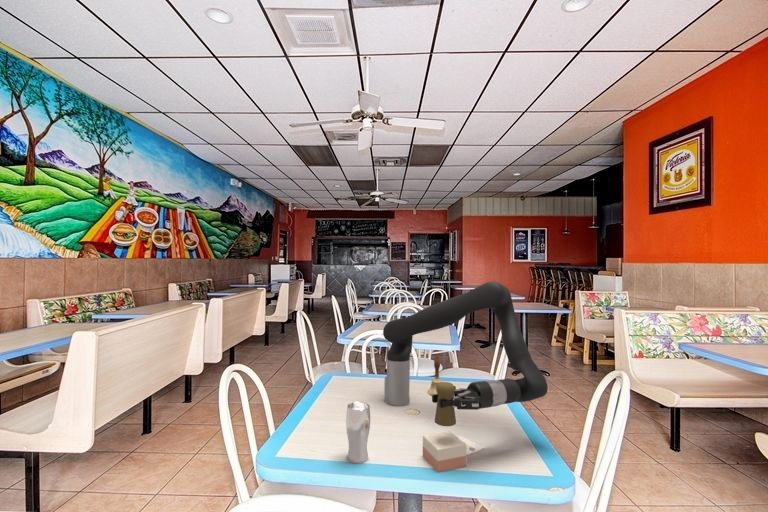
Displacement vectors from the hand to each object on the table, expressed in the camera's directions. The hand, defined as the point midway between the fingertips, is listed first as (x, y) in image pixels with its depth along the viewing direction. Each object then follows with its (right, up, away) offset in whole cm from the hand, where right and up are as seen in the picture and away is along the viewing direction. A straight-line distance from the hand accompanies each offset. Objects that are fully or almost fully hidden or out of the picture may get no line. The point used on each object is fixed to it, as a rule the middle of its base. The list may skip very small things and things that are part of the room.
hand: (436, 401), depth 109 cm
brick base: (+2, -17, +1) cm, 18 cm away
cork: (+3, -6, +1) cm, 7 cm away
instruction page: (+10, -18, +10) cm, 23 cm away
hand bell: (+8, -18, +57) cm, 61 cm away
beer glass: (-22, -17, +2) cm, 28 cm away
